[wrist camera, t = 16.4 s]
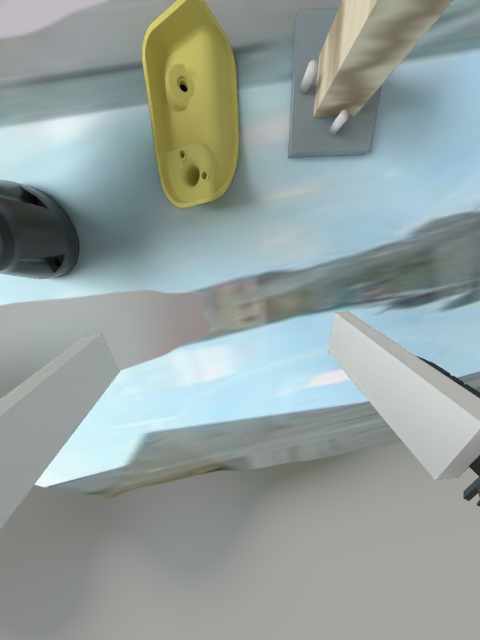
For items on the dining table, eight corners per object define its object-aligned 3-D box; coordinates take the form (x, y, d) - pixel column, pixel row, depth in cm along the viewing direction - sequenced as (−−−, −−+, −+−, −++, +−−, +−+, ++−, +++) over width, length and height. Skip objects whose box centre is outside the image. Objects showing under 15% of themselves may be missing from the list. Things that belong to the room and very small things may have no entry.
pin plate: (288, 157, 29) (296, 141, 24) (295, 24, 24) (307, -25, 19) (363, 154, 29) (384, 138, 24) (386, 21, 24) (418, -30, 19)
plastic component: (138, 35, 23) (202, -24, 18) (180, 85, 29) (235, 50, 25) (164, 212, 28) (217, 200, 24) (194, 222, 34) (241, 213, 30)
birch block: (313, 116, 26) (389, -23, 13) (319, 56, 24) (418, -187, 11) (355, 115, 26) (474, -25, 13) (364, 55, 24) (519, -189, 11)
